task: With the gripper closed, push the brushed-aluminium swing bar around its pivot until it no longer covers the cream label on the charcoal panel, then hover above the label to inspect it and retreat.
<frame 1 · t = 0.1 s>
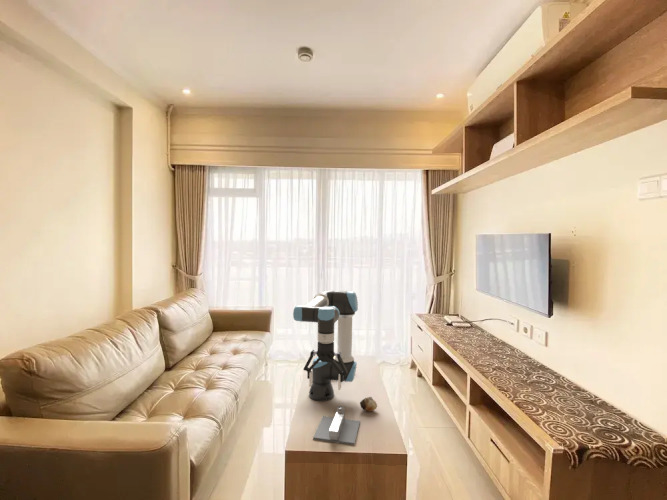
hand: (325, 387, 157), 28 cm above the table, tool pointing down, fingers open, 13 cm apart
seashell: (368, 411, 191), on the table
stack of blocks: (336, 373, 242), on the table
swing bar: (337, 422, 170), point 4 cm above the table, hinge at 0.0°
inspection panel: (337, 430, 171), on the table
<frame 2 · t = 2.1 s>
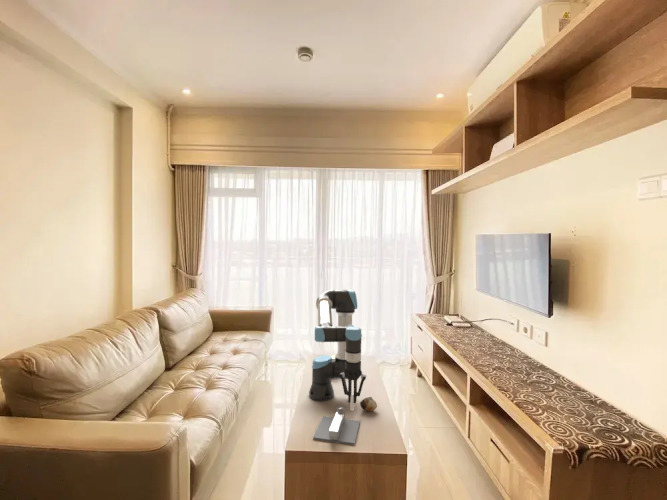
hand: (352, 409, 162), 15 cm above the table, tool pointing down, fingers closed
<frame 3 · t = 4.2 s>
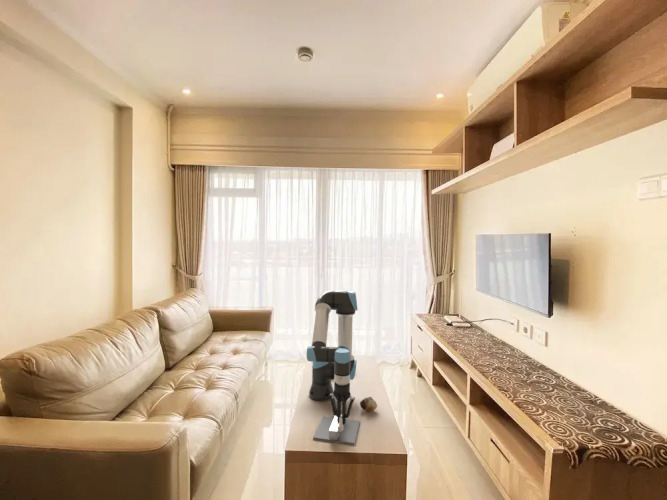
hand: (341, 430, 165), 4 cm above the table, tool pointing down, fingers closed
swing bar: (337, 422, 170), point 4 cm above the table, hinge at -0.1°, touching gripper
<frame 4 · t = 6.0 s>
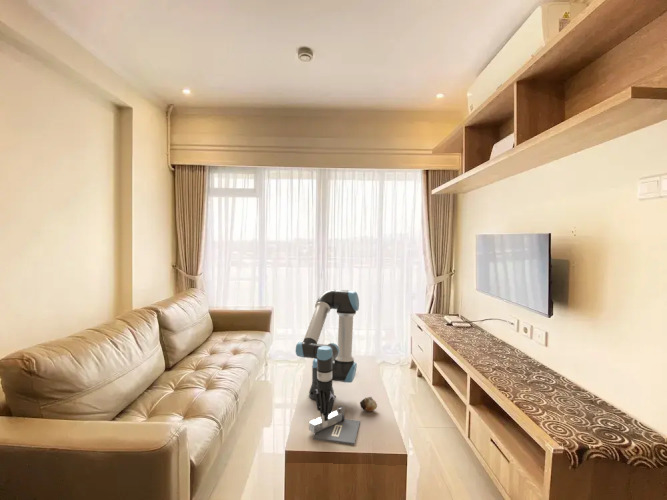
hand: (324, 426, 168), 4 cm above the table, tool pointing down, fingers closed
swing bar: (328, 419, 173), point 4 cm above the table, hinge at -37.4°, touching gripper
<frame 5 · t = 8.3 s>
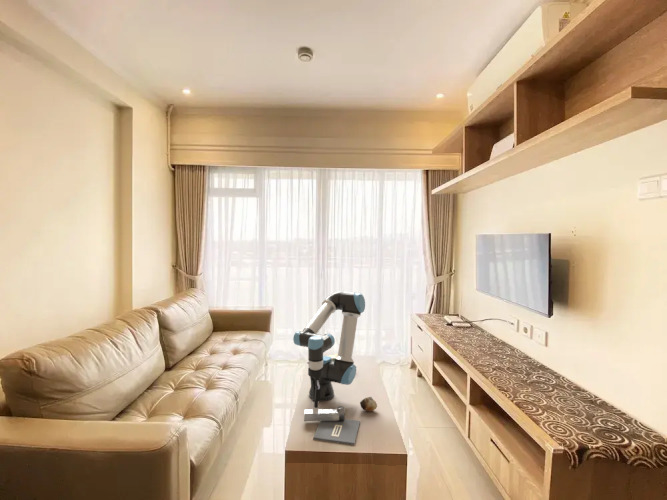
hand: (315, 412, 175), 7 cm above the table, tool pointing down, fingers closed
swing bar: (324, 413, 178), point 4 cm above the table, hinge at -74.6°
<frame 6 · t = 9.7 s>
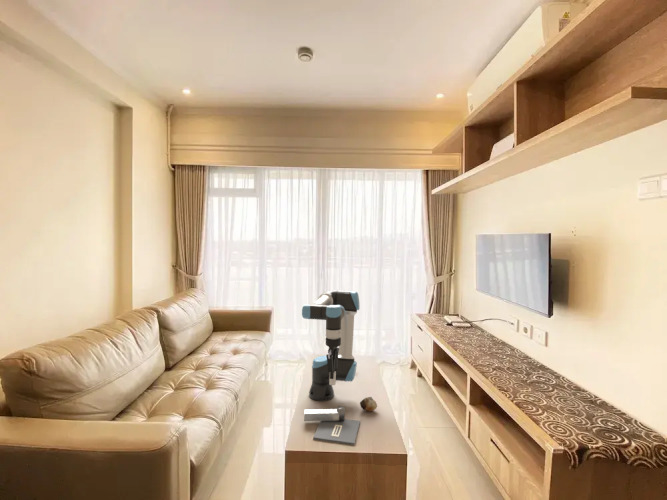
hand: (332, 384, 169), 24 cm above the table, tool pointing down, fingers closed
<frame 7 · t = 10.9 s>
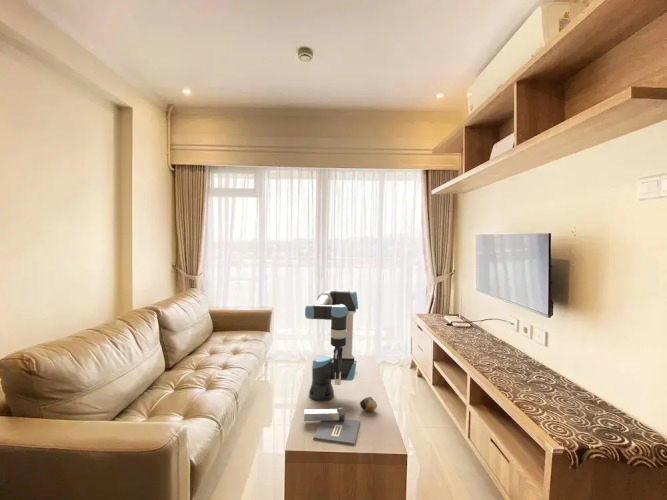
hand: (337, 384, 168), 24 cm above the table, tool pointing down, fingers closed
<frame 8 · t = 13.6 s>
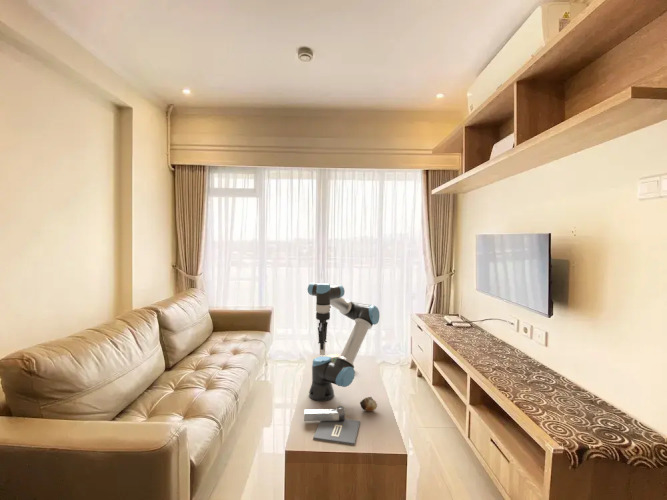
hand: (322, 354, 187), 32 cm above the table, tool pointing down, fingers closed
at the end: swing bar at -75° (first picture: +0°); seashell moved 0.2 cm from its start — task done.
